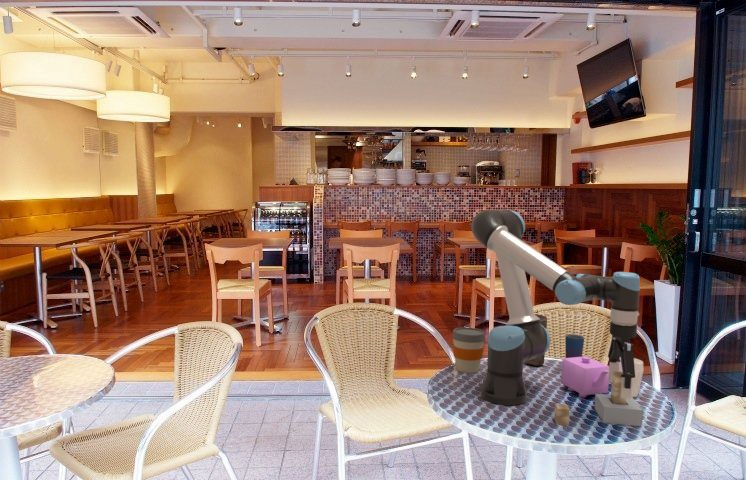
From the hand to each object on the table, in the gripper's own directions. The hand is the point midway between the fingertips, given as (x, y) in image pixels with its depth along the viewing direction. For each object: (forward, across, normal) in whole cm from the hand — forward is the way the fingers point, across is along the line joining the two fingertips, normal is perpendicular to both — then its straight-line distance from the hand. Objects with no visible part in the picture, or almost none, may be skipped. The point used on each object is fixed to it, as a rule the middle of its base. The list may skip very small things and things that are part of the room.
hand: (619, 390), depth 167 cm
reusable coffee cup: (+9, +36, +46) cm, 59 cm away
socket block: (+9, 0, 0) cm, 9 cm away
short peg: (+9, -8, +18) cm, 22 cm away
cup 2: (+9, +22, -9) cm, 25 cm away
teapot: (+9, +19, +5) cm, 22 cm away
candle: (+9, +48, +19) cm, 52 cm away
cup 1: (+9, +39, +6) cm, 40 cm away
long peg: (+9, 0, 0) cm, 9 cm away
